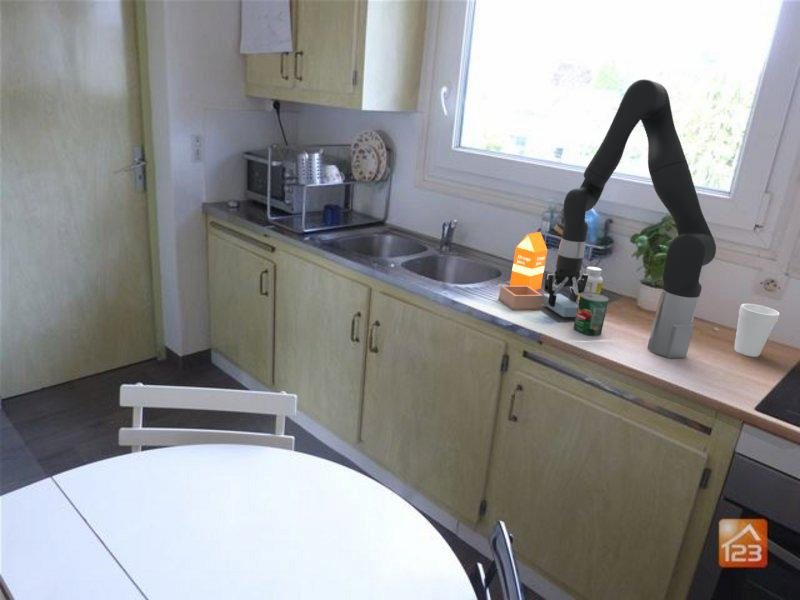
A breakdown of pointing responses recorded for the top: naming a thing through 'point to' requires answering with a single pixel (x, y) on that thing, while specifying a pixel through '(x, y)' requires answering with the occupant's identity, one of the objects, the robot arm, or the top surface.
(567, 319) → the mat
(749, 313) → the foam cup
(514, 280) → the orange juice
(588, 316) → the canned tomato
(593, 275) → the supplement bottle
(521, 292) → the brown open box
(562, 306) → the blue-grey rectangular block
